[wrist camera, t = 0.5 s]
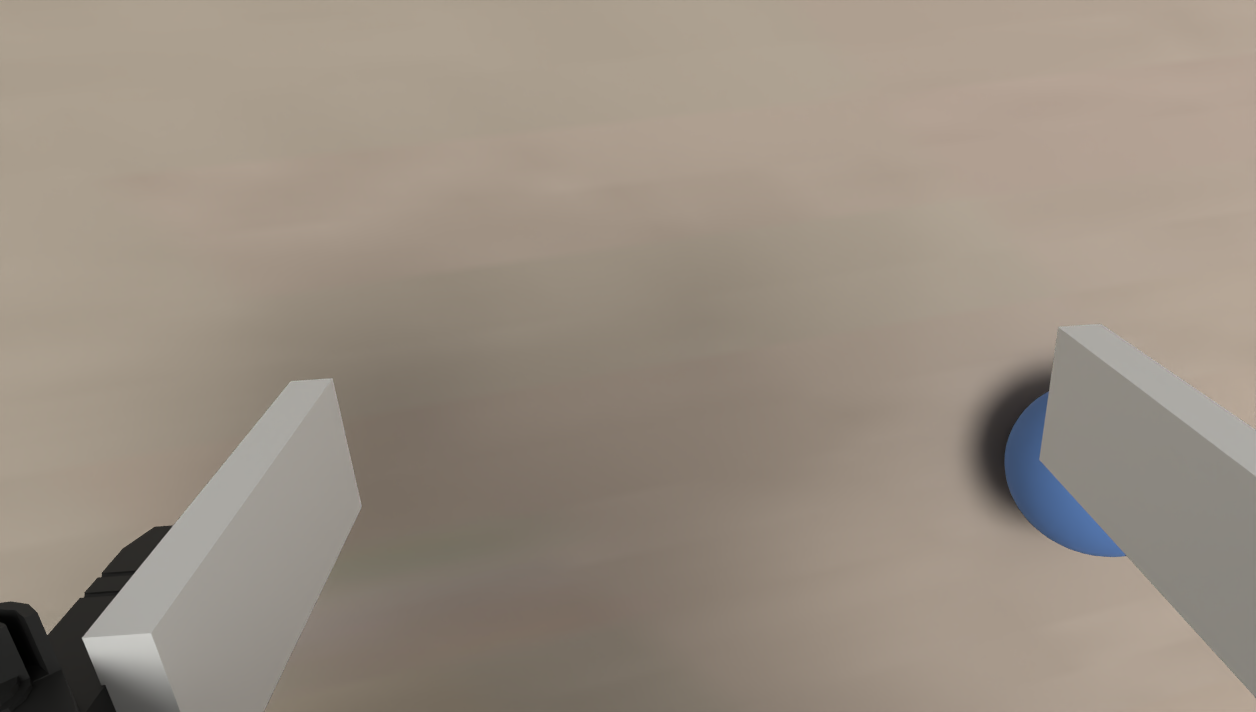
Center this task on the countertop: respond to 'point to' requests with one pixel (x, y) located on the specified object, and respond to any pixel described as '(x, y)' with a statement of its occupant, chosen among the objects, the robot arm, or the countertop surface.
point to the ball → (1049, 490)
